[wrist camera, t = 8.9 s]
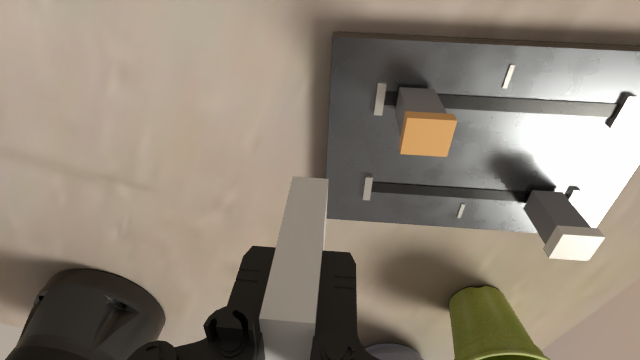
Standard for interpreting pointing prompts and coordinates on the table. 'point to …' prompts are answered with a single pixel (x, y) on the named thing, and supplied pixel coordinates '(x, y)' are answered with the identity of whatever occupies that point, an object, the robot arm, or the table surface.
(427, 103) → the fader orange
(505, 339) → the plant pot
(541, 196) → the fader white
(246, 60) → the table surface
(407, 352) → the bowl
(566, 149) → the console
